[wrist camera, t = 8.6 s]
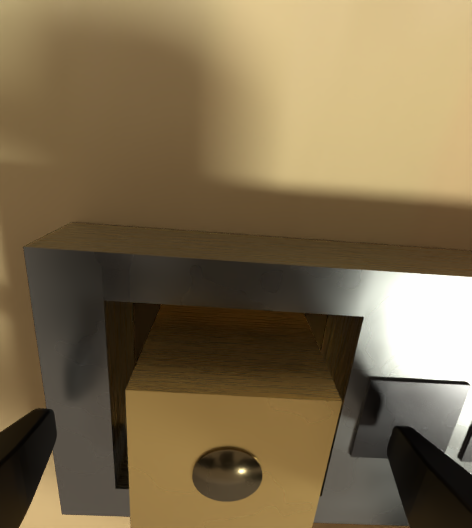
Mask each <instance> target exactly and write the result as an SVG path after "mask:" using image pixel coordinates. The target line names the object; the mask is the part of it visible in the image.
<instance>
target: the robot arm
mask: <svg viewBox="0 0 472 528" xmlns="http://www.w3.org/2000/svg"><path fill="white" fill-rule="evenodd" d="M56 438H57V429H56V421H55V414H54V411H53V410H52V409H42V408H38V409H34V410H33V411H31V412H30V413H28V414H27V415H25V416H24V417H22V418H21V419H19V420H18V421H16V422H15V423H13V424H12V425H10V426H9V427H7V428H6V429H4V430H3V431H1V432H0V528H19V526H20V524H21V523H22V521H23V519H24V517H25V515H26V513H27V510H28V508H29V506H30V504H31V502H32V499H33V497H34V495H35V492H36V490H37V487H38V485H39V482H40V480H41V477H42V475H43V472H44V470H45V467H46V465H47V462H48V460H49V457H50V455H51V452H52V450H53V447H54V445H55V442H56ZM387 457H388V461H389V464H390V467H391V470H392V473H393V477H394V480H395V483H396V486H397V489H398V493H399V496H400V499H401V502H402V505H403V509H404V512H405V515H406V518H407V521H408V523H409V526H410V528H472V474H471V473H469V472H468V471H467V470H465V469H464V468H463V467H462V466H460V465H459V464H458V463H457V462H455V461H454V460H453V459H452V458H450V457H449V456H448V455H447V454H445V453H444V452H443V451H441V450H440V449H439V448H438V447H436V446H435V445H434V444H433V443H431V442H430V441H429V440H428V439H426V438H425V437H424V436H422V435H421V434H420V433H419V432H417V431H416V430H415V429H414V428H412V427H410V426H398V425H397V426H395V427H394V428H393V430H392V433H391V436H390V439H389V443H388V446H387Z"/></svg>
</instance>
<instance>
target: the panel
mask: <svg viewBox="0 0 472 528" xmlns="http://www.w3.org/2000/svg"><path fill="white" fill-rule="evenodd" d="M23 249H24V256H25V262H26V269H27V276H28V283H29V290H30V297H31V304H32V311H33V318H34V325H35V332H36V338H37V345H38V352H39V359H40V366H41V373H42V380H43V387H44V394H45V401H46V407H47V409H52V410H53V411H54V414H55V421H56V429H57V438H56V442H55V445H54V447H53V456H54V463H55V470H56V477H57V483H58V490H59V497H60V504H61V511H62V514H66V515H96V516H125V517H130V497H129V471H128V446H127V420H126V394H125V390H126V387H127V385H128V383H129V380H130V378H131V375H132V373H133V371H134V368H135V359H134V325H133V302H135V303H151V304H167V305H184V306H200V307H216V308H232V309H249V310H265V311H281V312H298V313H314V314H328V316H327V321H326V327H325V332H324V337H323V342H322V347H321V354H322V356H323V359H324V361H325V363H326V366H327V368H328V370H329V372H330V375H331V377H332V379H333V382H334V384H335V386H336V389H337V391H338V393H339V396H340V398H341V400H342V404H341V408H340V413H339V417H338V421H337V425H336V429H335V434H334V438H333V442H332V446H331V451H330V455H329V459H328V463H327V467H326V472H325V476H324V480H323V484H322V488H321V493H320V497H319V501H318V505H317V509H316V514H315V518H314V522H313V523H335V524H365V525H395V526H409V523H408V521H407V518H406V515H405V512H404V509H403V505H402V502H401V499H400V496H399V493H398V489H397V486H396V483H395V480H394V477H393V473H392V470H391V467H390V464H389V461H388V457H387V446H388V443H389V439H390V436H391V433H392V430H393V428H394V427H395V426H397V425H398V426H410V427H412V428H414V429H415V430H416V431H417V432H419V433H420V434H421V435H422V436H424V437H425V438H426V439H428V440H429V441H430V442H431V443H433V444H434V445H435V446H436V447H438V448H439V449H440V450H441V451H443V452H444V453H445V454H447V455H448V456H449V457H450V458H452V459H453V460H454V461H455V462H457V463H458V464H459V465H460V466H462V467H463V468H464V469H465V470H467V471H468V472H469V473H471V474H472V251H467V250H453V249H439V248H425V247H411V246H397V245H383V244H369V243H355V242H341V241H327V240H313V239H299V238H285V237H271V236H257V235H243V234H229V233H214V232H200V231H186V230H172V229H158V228H144V227H130V226H116V225H102V224H88V223H74V222H71V223H69V224H67V225H65V226H63V227H61V228H59V229H57V230H55V231H53V232H51V233H49V234H47V235H46V236H44V237H42V238H40V239H38V240H36V241H34V242H32V243H30V244H28V245H26V246H24V247H23Z"/></svg>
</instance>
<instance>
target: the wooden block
mask: <svg viewBox="0 0 472 528" xmlns="http://www.w3.org/2000/svg"><path fill="white" fill-rule="evenodd" d="M125 394H126V420H127V446H128V471H129V497H130V523H131V528H312V526H313V522H314V518H315V514H316V509H317V505H318V501H319V497H320V493H321V488H322V484H323V480H324V476H325V472H326V467H327V463H328V459H329V455H330V451H331V446H332V442H333V438H334V434H335V429H336V425H337V421H338V417H339V413H340V408H341V404H342V400H341V398H340V396H339V393H338V391H337V389H336V386H335V384H334V382H333V379H332V377H331V375H330V372H329V370H328V368H327V366H326V363H325V361H324V359H323V356H322V354H321V352H320V349H319V347H318V345H317V342H316V340H315V338H314V336H313V333H312V331H311V329H310V326H309V324H308V322H307V319H306V317H305V315H304V313H298V312H281V311H265V310H249V309H232V308H216V307H200V306H184V305H167V304H161V307H160V309H159V311H158V314H157V316H156V318H155V321H154V323H153V326H152V328H151V330H150V333H149V335H148V337H147V340H146V342H145V345H144V347H143V349H142V352H141V354H140V356H139V359H138V361H137V364H136V366H135V368H134V371H133V373H132V375H131V378H130V380H129V383H128V385H127V387H126V390H125Z"/></svg>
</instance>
